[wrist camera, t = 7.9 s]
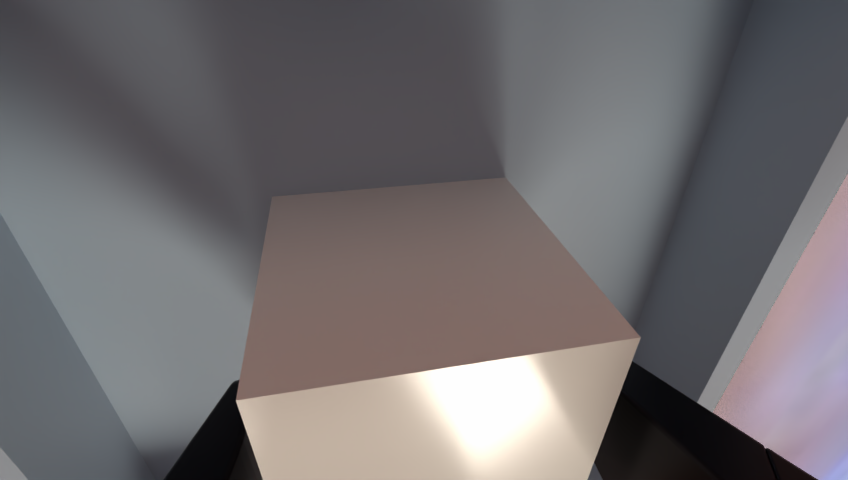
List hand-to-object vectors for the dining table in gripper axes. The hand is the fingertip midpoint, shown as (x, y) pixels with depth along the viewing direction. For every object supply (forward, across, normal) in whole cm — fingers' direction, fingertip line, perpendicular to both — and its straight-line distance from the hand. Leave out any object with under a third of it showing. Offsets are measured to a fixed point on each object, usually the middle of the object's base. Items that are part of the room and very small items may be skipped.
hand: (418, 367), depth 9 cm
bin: (+4, 0, 0) cm, 4 cm away
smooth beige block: (+3, 0, 0) cm, 3 cm away
